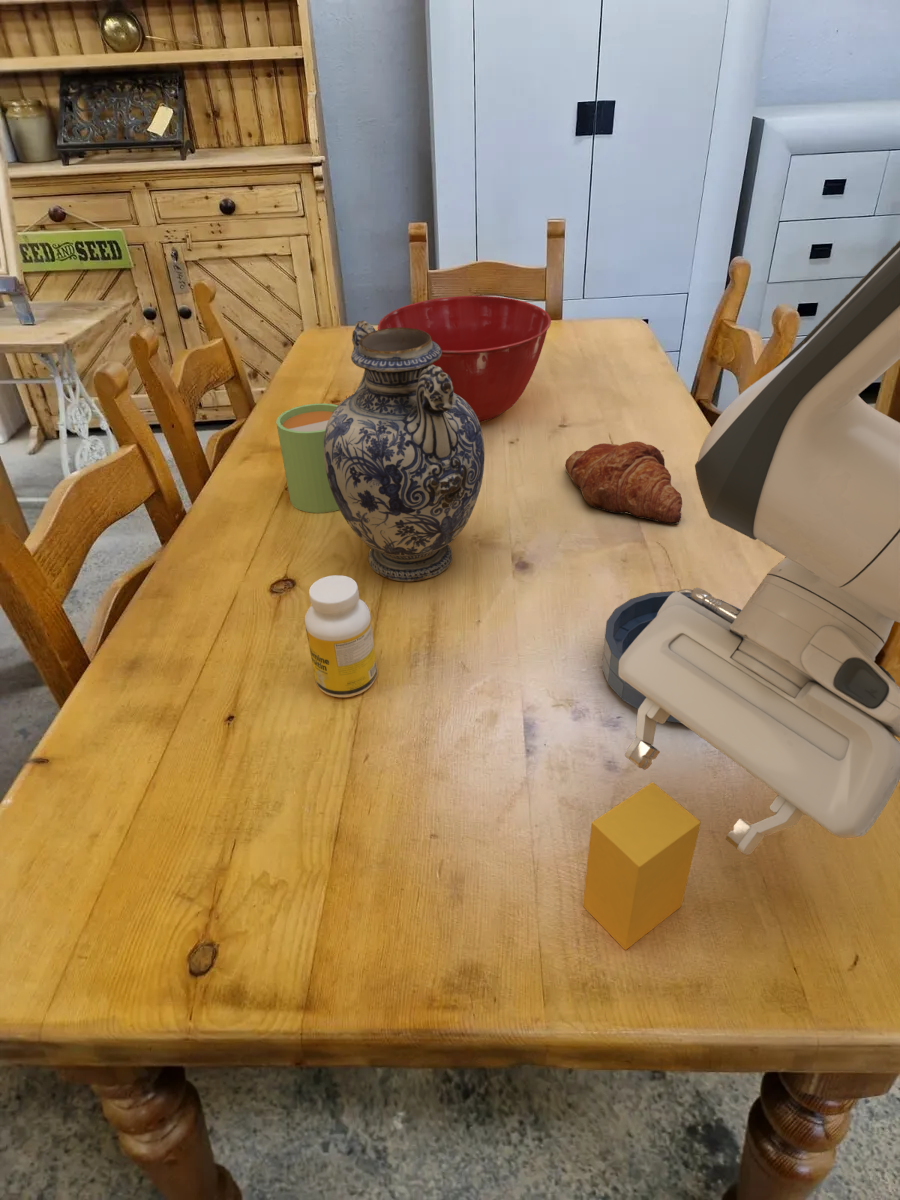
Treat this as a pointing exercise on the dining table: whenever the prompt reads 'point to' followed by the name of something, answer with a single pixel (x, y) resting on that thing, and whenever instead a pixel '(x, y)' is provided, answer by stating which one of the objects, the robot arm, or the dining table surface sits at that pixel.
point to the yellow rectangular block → (639, 863)
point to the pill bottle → (340, 637)
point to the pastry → (626, 481)
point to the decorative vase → (404, 454)
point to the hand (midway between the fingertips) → (683, 803)
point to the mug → (306, 456)
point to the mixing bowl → (480, 345)
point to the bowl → (630, 640)
